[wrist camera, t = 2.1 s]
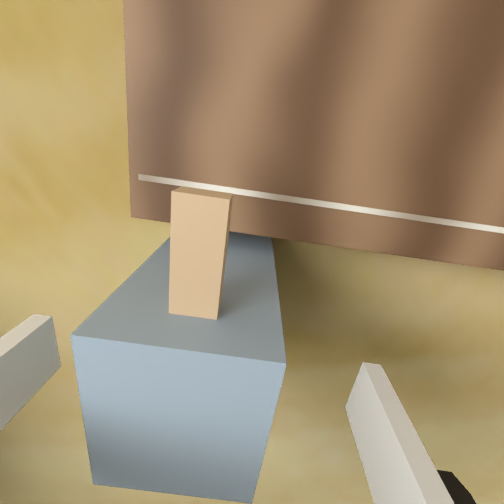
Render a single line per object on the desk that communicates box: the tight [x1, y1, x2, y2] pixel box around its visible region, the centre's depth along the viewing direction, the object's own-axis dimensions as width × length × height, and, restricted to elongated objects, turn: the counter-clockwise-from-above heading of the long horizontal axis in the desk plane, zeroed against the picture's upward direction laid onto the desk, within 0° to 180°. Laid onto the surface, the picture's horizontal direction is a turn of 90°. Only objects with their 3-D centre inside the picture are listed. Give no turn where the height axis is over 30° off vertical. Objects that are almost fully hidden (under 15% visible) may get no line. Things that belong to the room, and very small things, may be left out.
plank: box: [123, 0, 504, 271], centre depth 14 cm, size 30×12×4 cm, turn 82°
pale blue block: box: [70, 186, 287, 504], centre depth 13 cm, size 6×11×12 cm, turn 172°
